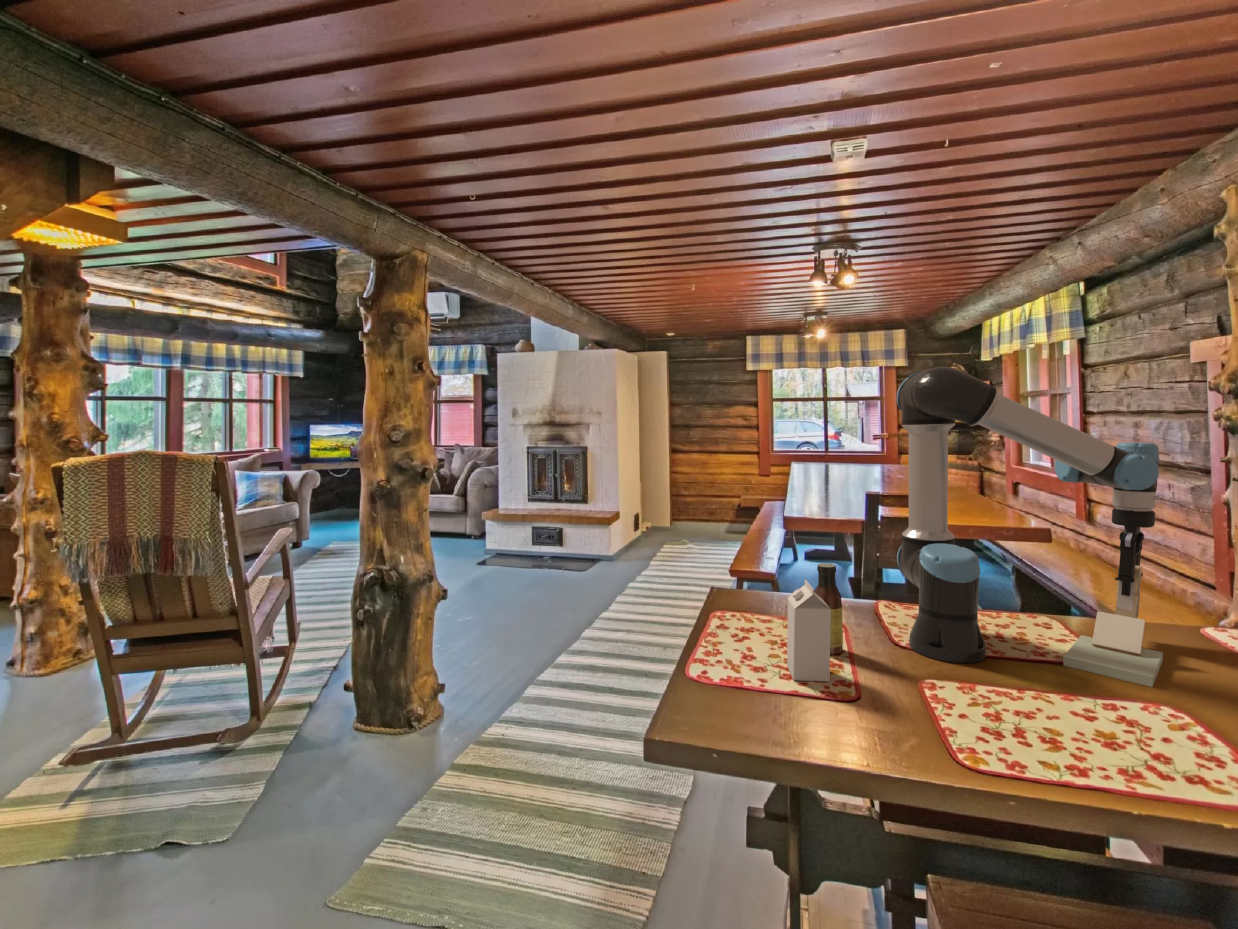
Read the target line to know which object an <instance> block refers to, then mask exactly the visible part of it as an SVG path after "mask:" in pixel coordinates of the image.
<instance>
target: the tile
mask: <svg viewBox="0 0 1238 929" xmlns="http://www.w3.org/2000/svg"><path fill="white" fill-rule="evenodd" d="M1145 626H1146V620H1145V619H1142V618H1138V617H1137V618H1132V617H1126V616H1121V615H1115V613H1109V612H1108V613H1107V612H1104V611H1098V610H1097V611H1096V618H1095V624H1094V630H1093V635H1092V638H1093V640H1092V646H1097V647H1101V648H1106V649H1111V650H1115V651H1120V652H1125V653H1129V654H1134V655H1139V656H1141V649H1142V648H1143V642H1144V641H1143V640H1144V632H1145Z"/></svg>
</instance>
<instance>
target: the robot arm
mask: <svg viewBox="0 0 1238 929" xmlns="http://www.w3.org/2000/svg"><path fill="white" fill-rule="evenodd" d="M896 392H897V393H896V404H897V406H898V409H899V410H900V412H901V427H902V428H903V429H904V430H906V432H907V433H908V527H907V528H906V529H905V530H904V531H902V533H901V545H900V547H899V548H898V550H897V554H896V562H897V566H898V569H899V571H900V572H901V574H902V575H903V577H904V578H905V579H906V580H907V581H909V582H910V583H911V584H913V585H914V586H916V587H917V588H918V589H919V592H918V598H919V599H918V613H917V616H916V618H915V621H914V623H913V624H912V625H913V626H912V628H911V631H910V632H909V636H908V637H909V639H908V640H909V642H908V644H909V647H910V649H912V650H913V651H914V652H917V653H918V654H920V655H923V656H925V657H928V658H930V659H935V660H938V661H942V662H949V663H959V664H974V663H979V662H981V661H982V662H983V661H984V659H985V658H986V650H987V648H986V644H985V641H984V637H983V635H982V631H981V629H980V625H979V622H978V612H979V592H980V589H979V588H980V574H981V566H980V559H979V556H978V554H976V552H974V551H972V550H971V549H969V548H966V547H963V546H959V545H956V542H955V541H956V539H955V538H956V536H955V535H954V534H953V533H952V532H951V531H950V530H949V524H948V523H949V522H948V521H949V520H948V519H949V518H948V517H949V516H948V515H949V514H948V513H949V512H948V508H949V507H948V506H949V500H948V499H949V495H948V494H949V490H948V489H949V487H948V486H949V481H948V480H949V477H948V476H949V431H950V430H951V429H952V428H953V427H955V426H956V421H957V422H961V423H963V424H965V425H967V426H969V427H974V426H978V425H979V426H981V427H983V428H986V429H987V430H989V431H992V432H994V433H996V434H998V435H1000V436H1003V437H1005V438H1007V439H1010V440H1012V441H1014V442H1016V443H1018V444H1020V445H1023V446H1025V447H1027V448H1029V449H1032V450H1034V451H1036V452H1038V453H1040V454H1043V455H1044V456H1046V457H1049V458H1052V459H1053V460H1055V462H1054V471H1055V474H1056V477H1057V479H1058V480H1059V481H1061V482H1063V483H1073V484H1077V483H1083V484H1084V483H1086V484H1092V485H1099V486H1105V487H1110V488H1113V489H1112V499H1111V500H1112V502H1111V505H1112V506H1113V507H1114V508H1113V509H1112V510H1111V511H1112V512H1111V523H1112V524H1114V525H1117V526H1122V527H1124V528H1123V531H1121V532H1120V533H1119V538H1118V539H1119V540H1120V543H1119V551H1120V552H1119V563H1118V564H1119V566H1118V567H1119V575H1118V574H1117V577H1116V576H1115V578H1114V581H1117V582H1118V581H1119V590H1118V606H1117V608H1121V609H1127V610H1132V611H1133V605H1134V590H1135V582H1134V581H1135V579H1134V574H1135V565H1137V566H1141V553H1142V549H1143V542H1144V538H1145V534H1144V533H1143V531H1141V528H1143V529H1144V528H1145V529H1146V528H1154V527H1155V525H1156V524H1155V523H1156V512H1155V511H1154V509H1155V508H1156V503H1157V502H1156V501H1159V500H1161V498H1160V496H1159V495H1156V494H1157V489H1158V479H1159V476H1160V468H1159V465H1160V463H1161V462H1160V450H1159V446H1158V445H1157V443H1156V444H1155V443H1154V442H1118V443H1116V446H1115V445H1112V444H1110V443H1108V442H1106V441H1104V440H1102V439H1099V438H1097V437H1095V436H1093V435H1090V434H1089V433H1086V432H1084V431H1081V430H1079V429H1077V428H1075V427H1073V426H1070V425H1068V424H1067V423H1064V422H1062V421H1059V420H1057V419H1055V418H1053V417H1050V416H1048V415H1046V414H1045V413H1042V412H1039V411H1038V410H1036V409H1033V408H1031V407H1029V406H1026V405H1024V404H1021V403H1019V402H1017V401H1016V400H1014V399H1011V398H1009V397H1006V396H1004V395H1002V394H1000V393H999V388H997V387H996V386H995V385H992V384H990V383H987V382H986V381H983V380H982V379H980V378H976V377H975V376H973V375H971V374H968V373H966V372H964V371H962V370H960V369H957V368H954V367H949V366H937V367H932V368H930V369H924V370H919V371H917V372H915V373H912V374H911V375H908V377H906V379H904V380H903V381H902V382H901V384H900V386H899V387H898V388H897V391H896ZM1128 575H1129V576H1128ZM1143 576H1144V572H1141V578H1142V577H1143Z"/></svg>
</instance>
